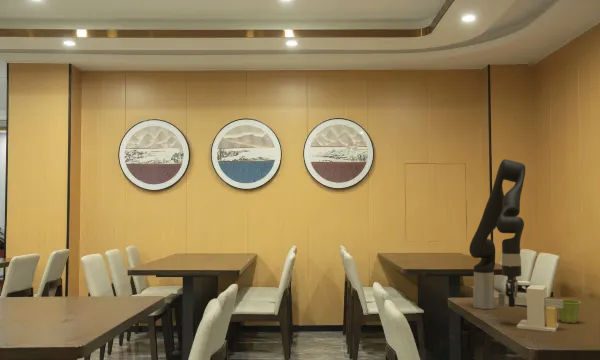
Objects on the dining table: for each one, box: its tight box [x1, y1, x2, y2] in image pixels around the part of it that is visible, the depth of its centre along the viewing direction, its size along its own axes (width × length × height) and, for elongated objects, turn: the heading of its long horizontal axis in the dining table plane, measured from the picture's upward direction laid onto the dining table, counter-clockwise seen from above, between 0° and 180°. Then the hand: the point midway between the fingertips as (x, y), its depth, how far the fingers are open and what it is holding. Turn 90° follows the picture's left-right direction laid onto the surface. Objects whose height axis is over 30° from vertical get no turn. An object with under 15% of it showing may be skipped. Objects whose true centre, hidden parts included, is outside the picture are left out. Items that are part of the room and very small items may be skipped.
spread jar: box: [516, 280, 531, 307], centre depth 263 cm, size 12×11×12 cm
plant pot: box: [558, 299, 581, 324], centre depth 225 cm, size 9×9×9 cm
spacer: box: [546, 307, 558, 328], centre depth 213 cm, size 3×8×8 cm, turn 149°
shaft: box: [498, 291, 564, 309], centre depth 217 cm, size 24×5×5 cm, turn 59°
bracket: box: [516, 284, 559, 333], centre depth 216 cm, size 14×13×16 cm
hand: (512, 305), depth 221 cm, fingers closed on shaft, 3 cm apart
